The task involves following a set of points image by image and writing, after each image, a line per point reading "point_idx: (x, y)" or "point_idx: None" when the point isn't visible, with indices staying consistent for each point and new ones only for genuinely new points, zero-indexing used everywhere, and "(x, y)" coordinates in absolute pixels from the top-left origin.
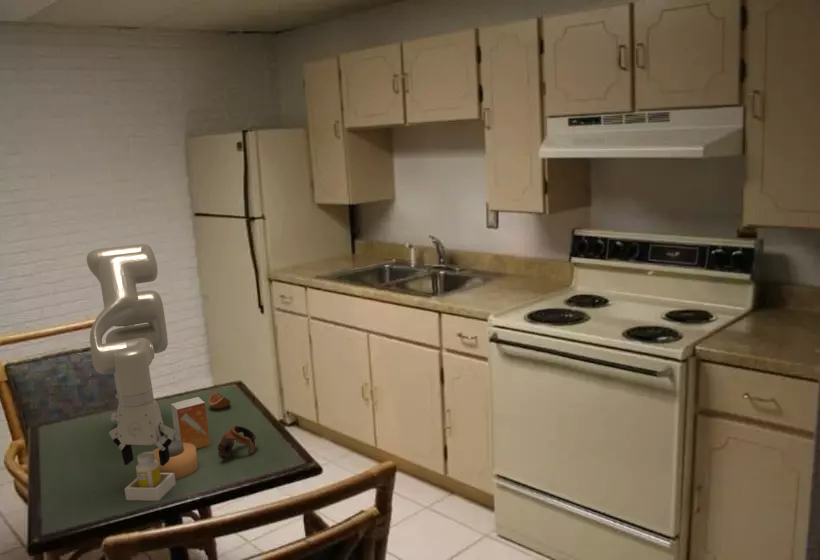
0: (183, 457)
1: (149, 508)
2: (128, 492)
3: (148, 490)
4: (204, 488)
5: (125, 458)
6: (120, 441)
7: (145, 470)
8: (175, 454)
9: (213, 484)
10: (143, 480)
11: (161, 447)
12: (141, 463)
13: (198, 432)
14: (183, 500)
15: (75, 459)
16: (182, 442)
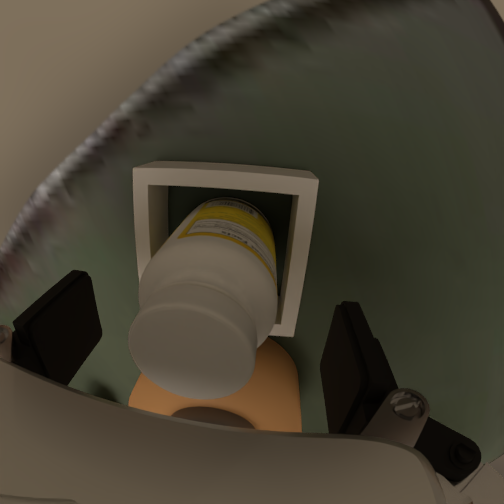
0: (137, 392)
1: (165, 97)
2: (296, 174)
3: (180, 168)
4: (54, 252)
5: (353, 332)
6: (421, 465)
7: (179, 242)
8: (178, 414)
9: (47, 275)
10: (216, 218)
11: (1, 347)
12: (200, 281)
13: None
14: (71, 169)
15: (493, 400)
16: None
